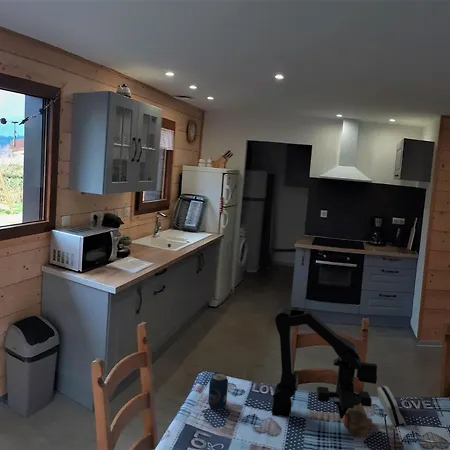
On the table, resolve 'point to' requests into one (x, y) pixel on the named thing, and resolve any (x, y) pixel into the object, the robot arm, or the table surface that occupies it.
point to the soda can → (218, 391)
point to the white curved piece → (390, 405)
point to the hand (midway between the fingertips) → (341, 418)
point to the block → (358, 421)
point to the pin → (346, 420)
